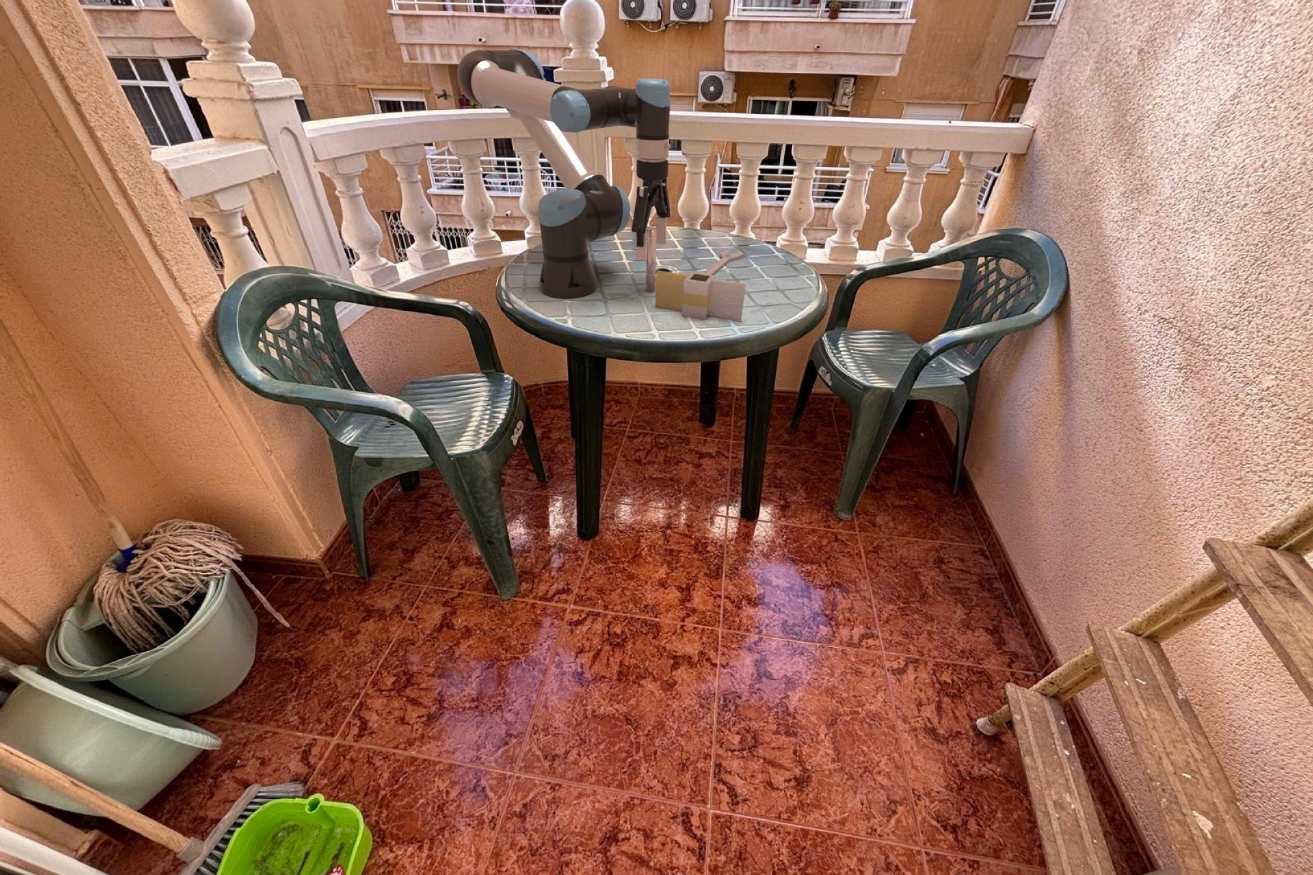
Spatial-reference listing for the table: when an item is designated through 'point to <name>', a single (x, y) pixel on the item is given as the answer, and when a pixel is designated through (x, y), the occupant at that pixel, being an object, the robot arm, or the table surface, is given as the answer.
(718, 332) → the table surface
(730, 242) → the table surface
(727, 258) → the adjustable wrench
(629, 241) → the table surface
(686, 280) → the hinge
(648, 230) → the hinge pin
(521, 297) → the table surface
